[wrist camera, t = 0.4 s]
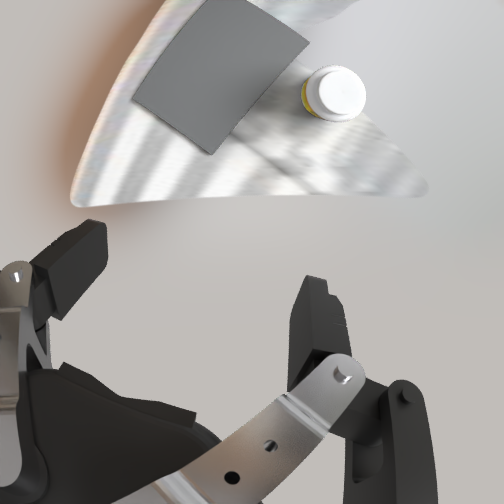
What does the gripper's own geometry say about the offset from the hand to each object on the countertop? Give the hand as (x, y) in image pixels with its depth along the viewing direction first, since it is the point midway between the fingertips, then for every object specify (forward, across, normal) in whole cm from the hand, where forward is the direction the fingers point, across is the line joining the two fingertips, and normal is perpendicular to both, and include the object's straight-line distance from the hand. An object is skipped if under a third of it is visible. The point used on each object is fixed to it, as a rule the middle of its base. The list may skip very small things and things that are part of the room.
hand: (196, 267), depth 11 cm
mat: (+26, +7, -9) cm, 28 cm away
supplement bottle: (+26, -6, -8) cm, 28 cm away
